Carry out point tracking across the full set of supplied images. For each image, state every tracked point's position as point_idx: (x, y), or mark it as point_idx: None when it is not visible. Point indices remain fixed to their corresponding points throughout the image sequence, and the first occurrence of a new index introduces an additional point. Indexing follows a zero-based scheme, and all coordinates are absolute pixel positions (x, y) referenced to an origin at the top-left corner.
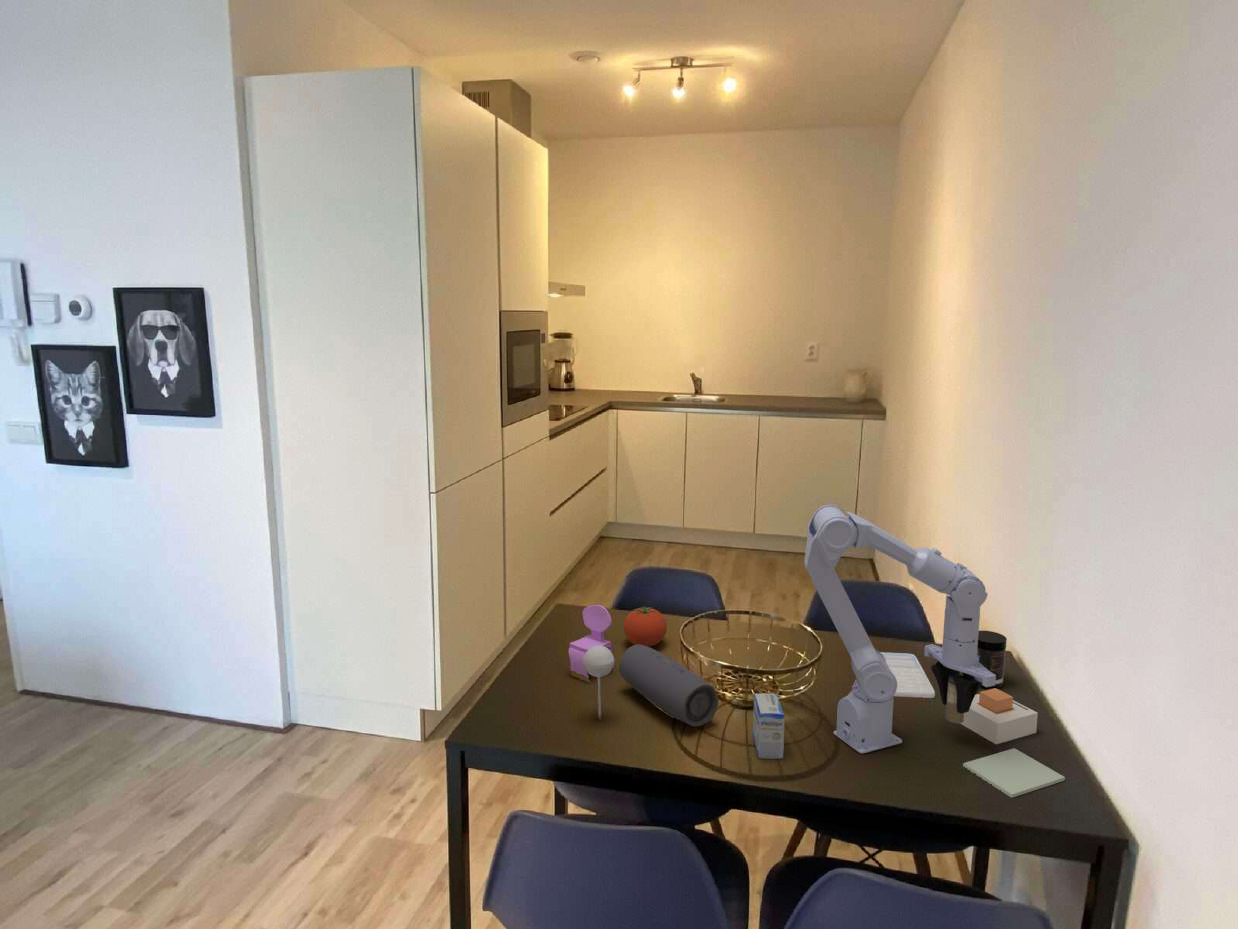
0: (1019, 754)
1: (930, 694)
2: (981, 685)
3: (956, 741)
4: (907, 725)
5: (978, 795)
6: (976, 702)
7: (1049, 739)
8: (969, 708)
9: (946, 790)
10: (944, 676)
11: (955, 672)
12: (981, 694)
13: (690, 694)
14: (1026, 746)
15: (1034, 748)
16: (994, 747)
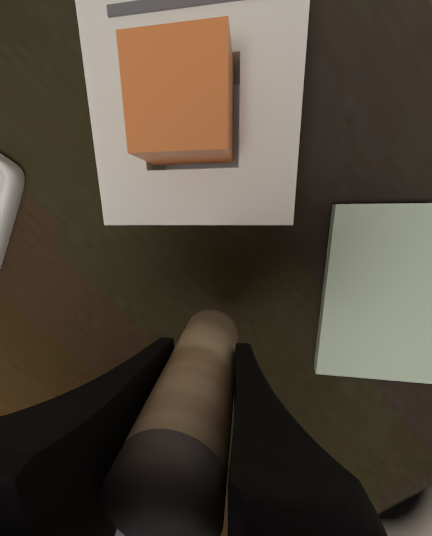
0: (366, 219)
1: (13, 184)
2: (322, 453)
3: (224, 297)
4: (127, 336)
5: (408, 423)
6: (140, 164)
7: (344, 22)
8: (252, 351)
9: (356, 453)
10: (106, 529)
11: (85, 469)
12: (140, 154)
13: None
14: (332, 143)
15: (353, 129)
16: (289, 235)
